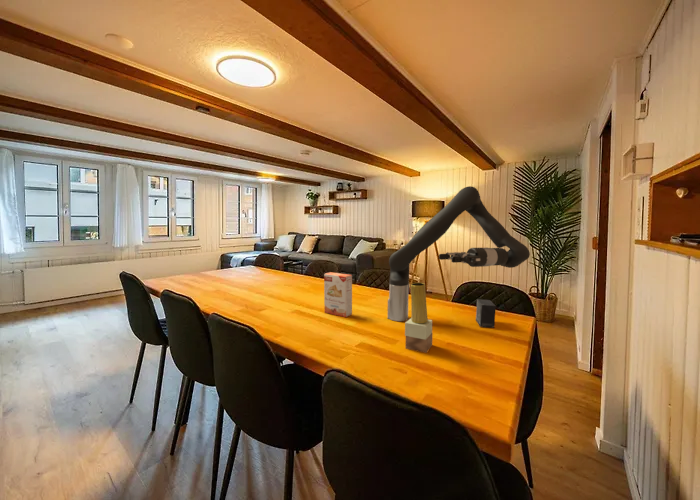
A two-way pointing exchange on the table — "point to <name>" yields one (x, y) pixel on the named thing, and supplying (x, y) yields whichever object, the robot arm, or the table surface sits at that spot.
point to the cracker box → (338, 294)
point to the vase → (418, 303)
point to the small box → (485, 313)
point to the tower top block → (418, 329)
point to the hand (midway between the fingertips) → (445, 258)
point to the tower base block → (419, 343)
